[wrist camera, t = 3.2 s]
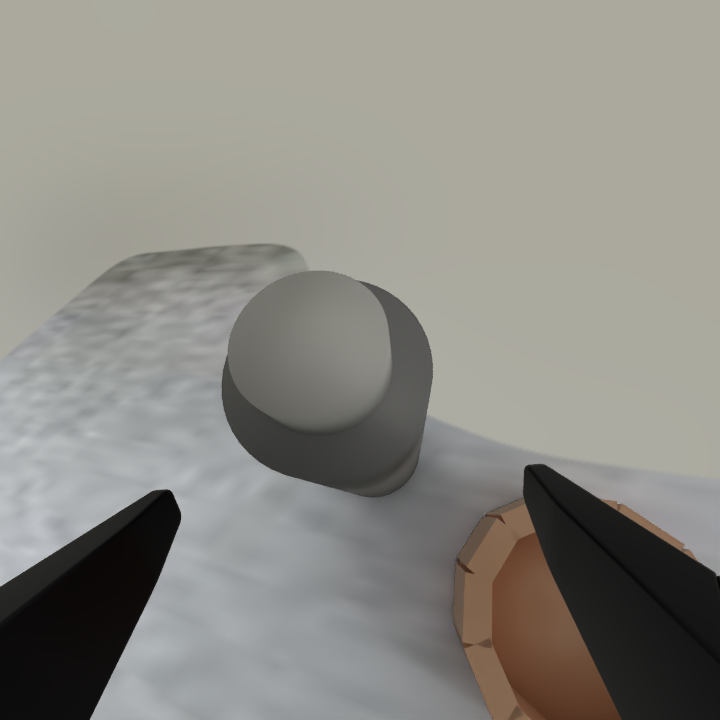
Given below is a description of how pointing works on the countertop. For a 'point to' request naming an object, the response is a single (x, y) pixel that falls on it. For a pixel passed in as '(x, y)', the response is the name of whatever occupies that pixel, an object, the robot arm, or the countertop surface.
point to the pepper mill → (329, 382)
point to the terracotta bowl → (526, 624)
